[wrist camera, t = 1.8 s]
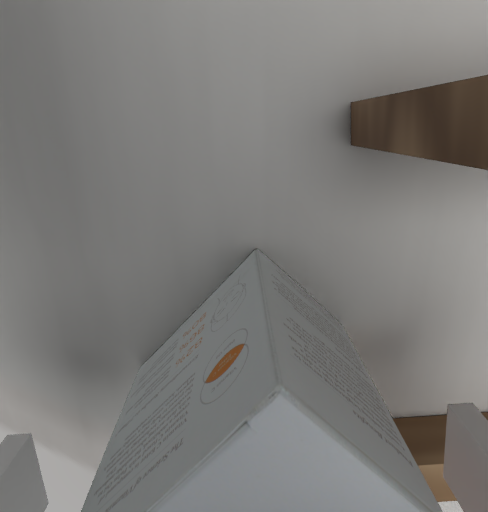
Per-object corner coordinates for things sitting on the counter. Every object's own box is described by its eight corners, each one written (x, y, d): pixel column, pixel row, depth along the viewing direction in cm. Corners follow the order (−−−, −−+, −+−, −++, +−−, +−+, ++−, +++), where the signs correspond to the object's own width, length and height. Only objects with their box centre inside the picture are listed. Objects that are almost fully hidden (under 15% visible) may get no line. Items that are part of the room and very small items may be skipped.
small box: (226, 433, 21) (215, 718, 11) (137, 365, 20) (32, 613, 10) (347, 324, 19) (464, 542, 9) (257, 242, 18) (281, 389, 8)
